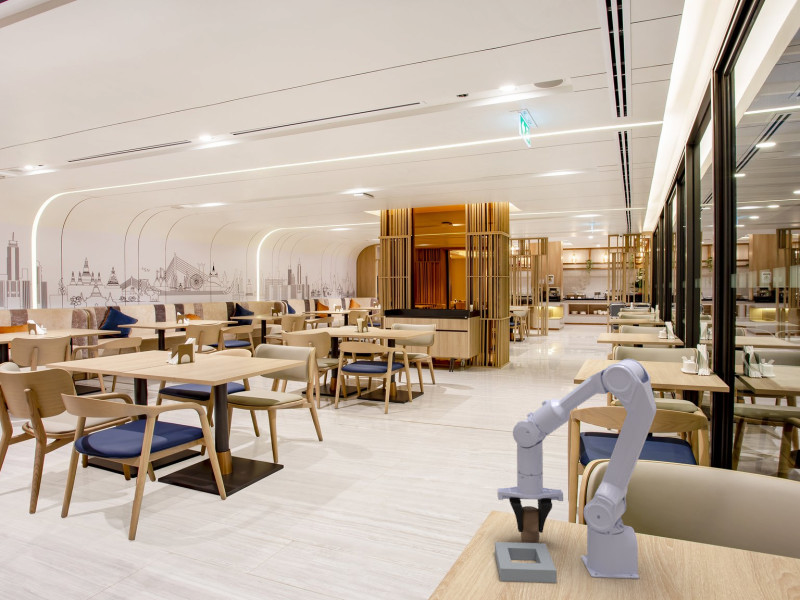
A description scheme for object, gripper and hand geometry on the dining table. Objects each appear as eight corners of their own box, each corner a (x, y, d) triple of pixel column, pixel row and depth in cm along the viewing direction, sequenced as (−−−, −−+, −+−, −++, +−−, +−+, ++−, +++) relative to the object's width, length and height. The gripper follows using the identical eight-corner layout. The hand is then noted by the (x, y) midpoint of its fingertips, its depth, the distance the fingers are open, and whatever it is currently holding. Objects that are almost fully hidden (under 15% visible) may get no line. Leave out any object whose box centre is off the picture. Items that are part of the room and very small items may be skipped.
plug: (537, 540, 120) (537, 506, 120) (540, 549, 116) (540, 513, 116) (519, 539, 120) (519, 505, 120) (522, 548, 116) (522, 513, 116)
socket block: (545, 554, 114) (545, 543, 114) (556, 582, 103) (556, 570, 103) (494, 553, 114) (494, 541, 114) (500, 580, 103) (500, 568, 103)
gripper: (558, 466, 121) (558, 523, 122) (495, 465, 122) (496, 521, 123) (565, 476, 114) (565, 537, 115) (499, 475, 115) (499, 535, 116)
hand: (530, 530), depth 118 cm, fingers closed on plug, 4 cm apart
